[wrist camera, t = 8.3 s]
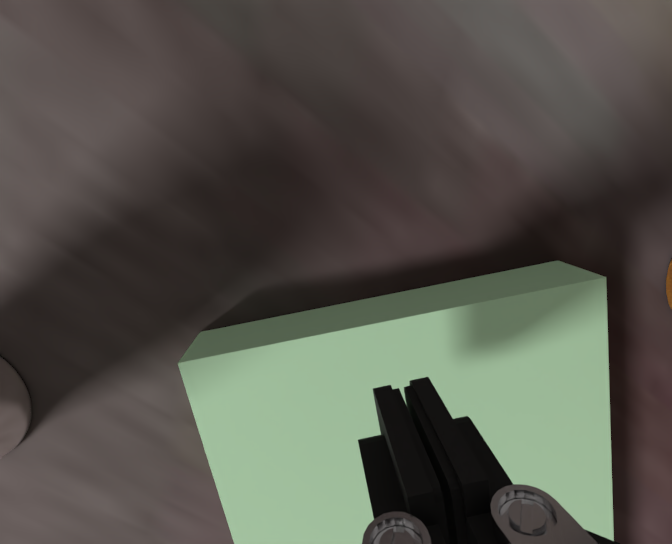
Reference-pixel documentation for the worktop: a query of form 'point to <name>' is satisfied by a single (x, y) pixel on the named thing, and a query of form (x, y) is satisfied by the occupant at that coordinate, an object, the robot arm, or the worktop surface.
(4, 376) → the beer glass
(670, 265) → the disposable coffee cup
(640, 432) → the worktop surface
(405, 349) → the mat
